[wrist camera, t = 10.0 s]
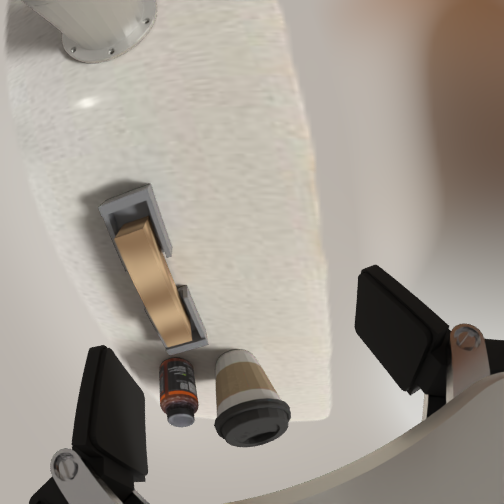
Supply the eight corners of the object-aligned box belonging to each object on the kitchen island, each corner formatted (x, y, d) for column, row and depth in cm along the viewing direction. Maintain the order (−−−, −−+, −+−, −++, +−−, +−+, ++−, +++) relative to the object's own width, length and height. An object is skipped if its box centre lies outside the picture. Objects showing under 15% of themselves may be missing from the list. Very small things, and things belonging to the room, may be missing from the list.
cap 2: (205, 330, 41) (208, 344, 38) (169, 340, 40) (169, 355, 37) (186, 285, 37) (187, 298, 34) (146, 297, 36) (144, 311, 33)
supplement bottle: (164, 380, 43) (166, 432, 33) (155, 358, 41) (154, 413, 31) (196, 376, 44) (204, 428, 34) (189, 353, 42) (196, 408, 32)
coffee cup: (216, 389, 47) (231, 456, 34) (193, 352, 42) (204, 429, 29) (272, 371, 48) (300, 434, 35) (258, 330, 43) (289, 402, 30)
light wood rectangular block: (123, 224, 31) (114, 238, 26) (148, 215, 31) (143, 228, 27) (167, 324, 38) (167, 347, 33) (189, 318, 38) (192, 340, 34)
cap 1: (105, 200, 30) (98, 207, 26) (150, 183, 30) (147, 188, 27) (129, 260, 33) (125, 272, 30) (172, 246, 34) (171, 257, 31)
